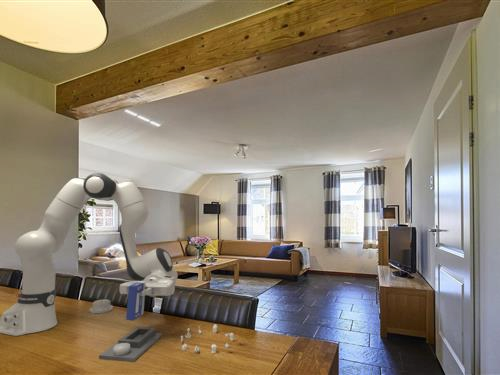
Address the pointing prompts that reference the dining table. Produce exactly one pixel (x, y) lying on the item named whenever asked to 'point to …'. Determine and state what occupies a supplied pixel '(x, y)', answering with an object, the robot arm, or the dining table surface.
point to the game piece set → (196, 349)
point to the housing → (132, 345)
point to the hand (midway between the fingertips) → (136, 293)
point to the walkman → (135, 301)
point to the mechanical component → (101, 306)
